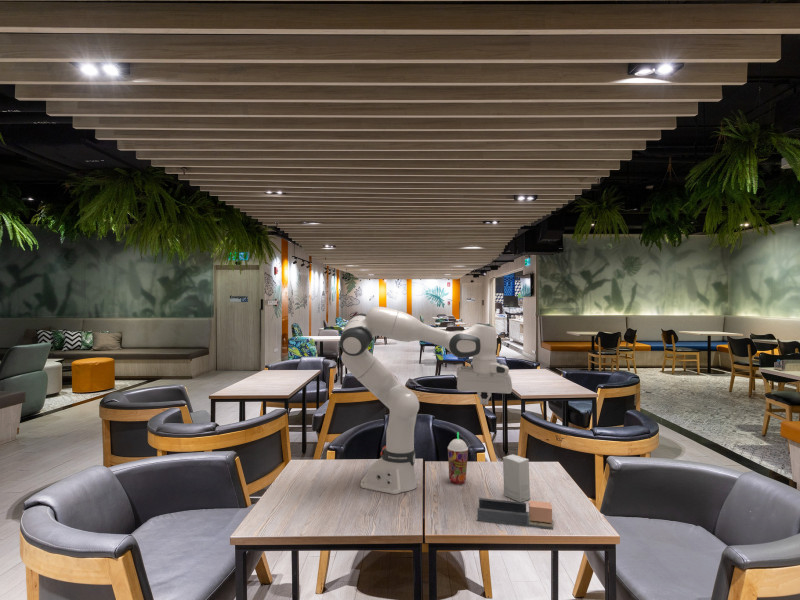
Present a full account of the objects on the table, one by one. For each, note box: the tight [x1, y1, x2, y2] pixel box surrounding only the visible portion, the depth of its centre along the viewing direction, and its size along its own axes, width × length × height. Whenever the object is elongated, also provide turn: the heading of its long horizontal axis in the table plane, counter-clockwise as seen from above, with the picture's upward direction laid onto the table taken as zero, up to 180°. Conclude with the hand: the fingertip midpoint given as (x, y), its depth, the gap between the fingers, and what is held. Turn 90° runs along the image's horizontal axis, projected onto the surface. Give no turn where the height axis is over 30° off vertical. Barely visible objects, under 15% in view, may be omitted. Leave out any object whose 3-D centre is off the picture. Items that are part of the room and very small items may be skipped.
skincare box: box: [502, 454, 531, 502], centre depth 172 cm, size 8×6×15 cm
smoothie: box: [447, 431, 469, 485], centre depth 187 cm, size 8×8×20 cm
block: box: [528, 499, 553, 524], centre depth 152 cm, size 7×5×4 cm
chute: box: [476, 497, 554, 530], centre depth 154 cm, size 24×10×4 cm, turn 77°
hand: (484, 404), depth 170 cm, fingers closed
